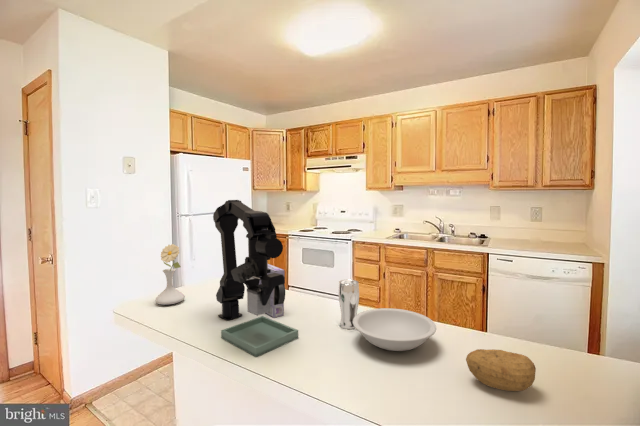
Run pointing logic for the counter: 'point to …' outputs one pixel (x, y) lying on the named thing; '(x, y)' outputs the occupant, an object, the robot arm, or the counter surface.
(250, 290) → the capped grey block
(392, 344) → the soup bowl
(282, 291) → the cake pan box
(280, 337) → the tray
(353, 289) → the beer glass
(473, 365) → the potato
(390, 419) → the counter surface
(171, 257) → the flower in vase
